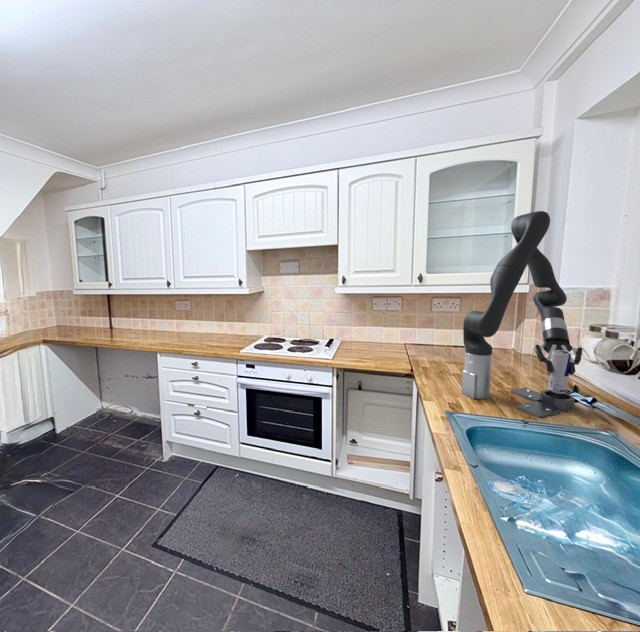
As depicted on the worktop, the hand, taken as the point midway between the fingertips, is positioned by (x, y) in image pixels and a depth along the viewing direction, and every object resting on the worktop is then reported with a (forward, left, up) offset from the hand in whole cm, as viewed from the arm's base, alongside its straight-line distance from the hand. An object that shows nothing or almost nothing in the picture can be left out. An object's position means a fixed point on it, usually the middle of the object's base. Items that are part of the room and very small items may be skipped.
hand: (561, 372), depth 102 cm
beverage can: (+1, +1, -8) cm, 8 cm away
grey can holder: (-4, +6, -13) cm, 15 cm away
